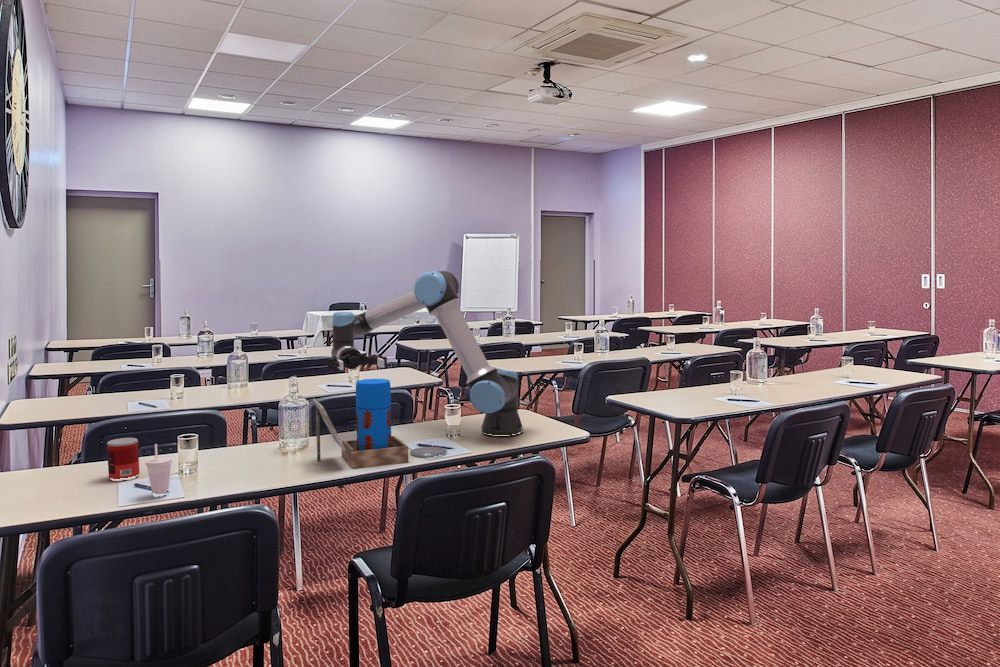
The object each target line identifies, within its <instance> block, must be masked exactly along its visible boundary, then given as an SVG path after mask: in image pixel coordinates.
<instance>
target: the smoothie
mask: <svg viewBox="0 0 1000 667" xmlns="http://www.w3.org/2000/svg"><path fill="white" fill-rule="evenodd" d="M172 463H173V458H172V457H169V456H159V457H158V444H157V443H155V444H154V457H152V458H148V459H147V460H146V461H145V466H146V467H147V472H148V478H149V484H150V488H151V489H150V490H151V494H152V493H155V494H163V493H165V492H167V491H168V492H169V488H170V478H171V467H172V466H171V465H172Z"/></svg>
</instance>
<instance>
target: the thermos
mask: <svg viewBox="0 0 1000 667" xmlns="http://www.w3.org/2000/svg"><path fill="white" fill-rule="evenodd" d="M391 388H392V387H391V380H389V379H385V378H366V379H361V380H360V379H359V380H357V381H356V382H355V406H356V407H355V411H356V413H355V415H356V416H355V417H356V418H355V419H356V425H355V426H356V440H357V451H364V450H373V449H383V448H391V436H392V401H391V400H392V399H391V397H392V395H391V394H392V393H391V392H392V391H391Z"/></svg>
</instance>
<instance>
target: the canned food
mask: <svg viewBox="0 0 1000 667" xmlns="http://www.w3.org/2000/svg"><path fill="white" fill-rule="evenodd" d="M106 449H107V450H106V452H107V467H108V469H107V470H108V478H113V479H120V478H128V477H132V476H136V475H138V474H139V475H140V455H139V452H140V451H139V440H138V438H135V437H121V438H115V439H111V440H108V441H107V443H106Z"/></svg>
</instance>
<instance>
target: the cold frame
mask: <svg viewBox="0 0 1000 667" xmlns="http://www.w3.org/2000/svg"><path fill="white" fill-rule="evenodd" d="M312 400H313V402H314V405H315V407H316V408H315V418H316V419H315V423H316V425H315V426H316V429H315V430H316V459H317V460H316V461H317V462H318V463H319V461H320V462H321V430H320V429H321V426H320V424H321V422H320V417H322V420H323V421H324V423H325V425H326V427H327V430H328V431H329V433H330V434H331V437H332V438H333V441H335V443H336V444H337V446H339V448H341V457H342V459H343V460H344V461H345V462H346V463H347V465H348V466H349V467H350V468H351V469H352V470H353V469H361V468H370V467H378V466H387V465H388V466H389V465H397V464H404V463H406V464H407V463H409V446H408V445H407V444H406V443H405V442H403V441H402V440H401V439H400V438H398V437H397V436H395V435H391V448H383V449H373V450H364V451H357V439H350V440H345V439H341V438H340V435H339V434H338V432H337V429H336V428H335V427H334V424H333V422H332V421H331V419H330V417H329V415H328V413H327V411H326V409H325V407H324V406H323V405H322V404H321V403H320V402H319V401H318V400H317V399H315V398H313V399H312Z"/></svg>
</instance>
